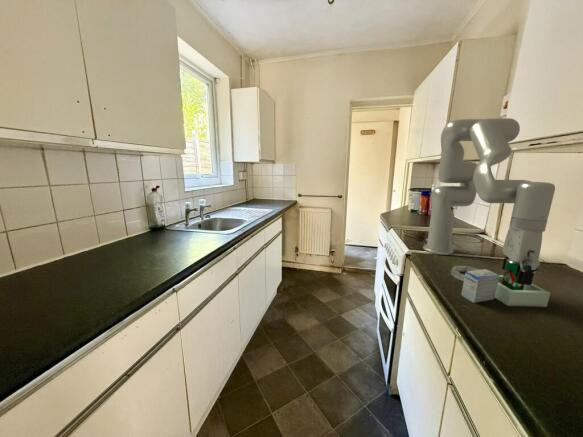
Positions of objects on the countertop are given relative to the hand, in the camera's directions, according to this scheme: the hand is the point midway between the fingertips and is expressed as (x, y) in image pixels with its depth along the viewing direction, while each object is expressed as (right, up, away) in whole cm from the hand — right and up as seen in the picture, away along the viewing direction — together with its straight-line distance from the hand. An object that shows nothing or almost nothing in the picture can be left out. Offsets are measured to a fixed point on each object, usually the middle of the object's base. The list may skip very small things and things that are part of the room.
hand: (515, 276), depth 72 cm
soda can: (0, -6, +2) cm, 6 cm away
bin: (0, -7, +2) cm, 7 cm away
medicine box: (-11, -7, +1) cm, 13 cm away
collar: (-3, -4, +14) cm, 15 cm away
